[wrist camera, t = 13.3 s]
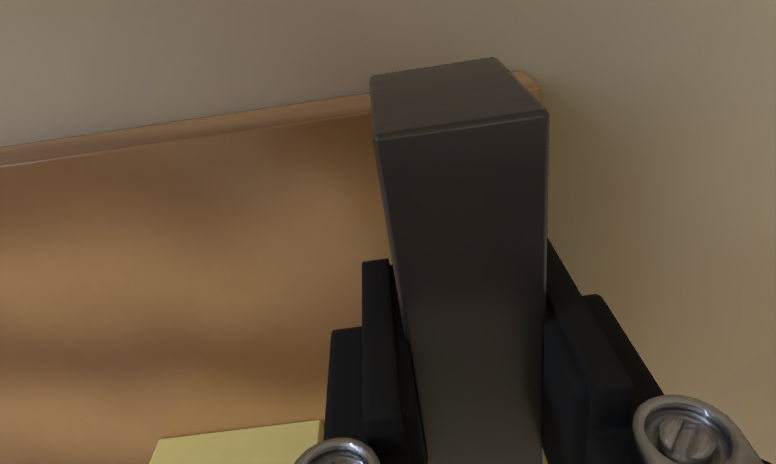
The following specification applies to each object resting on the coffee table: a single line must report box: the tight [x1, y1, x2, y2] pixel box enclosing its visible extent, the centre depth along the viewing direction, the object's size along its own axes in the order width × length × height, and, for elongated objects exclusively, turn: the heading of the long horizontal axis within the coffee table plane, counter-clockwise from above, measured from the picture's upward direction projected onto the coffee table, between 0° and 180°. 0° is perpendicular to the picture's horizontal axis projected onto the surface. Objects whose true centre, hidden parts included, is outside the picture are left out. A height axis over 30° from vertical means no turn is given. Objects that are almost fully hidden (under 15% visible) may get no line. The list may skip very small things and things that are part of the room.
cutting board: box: [0, 71, 541, 464], centre depth 18 cm, size 22×18×2 cm
